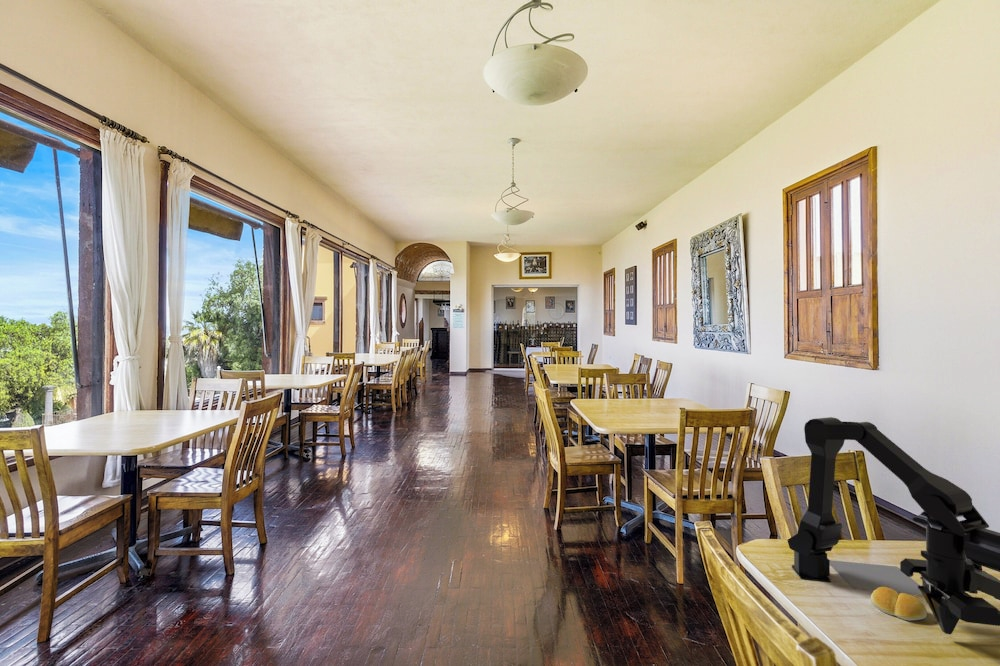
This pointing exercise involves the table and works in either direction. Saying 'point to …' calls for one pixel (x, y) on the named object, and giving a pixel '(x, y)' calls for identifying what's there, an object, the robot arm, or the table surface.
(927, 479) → the robot arm
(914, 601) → the bread roll
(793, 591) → the table surface
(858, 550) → the table surface
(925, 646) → the table surface
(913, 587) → the serving mat
